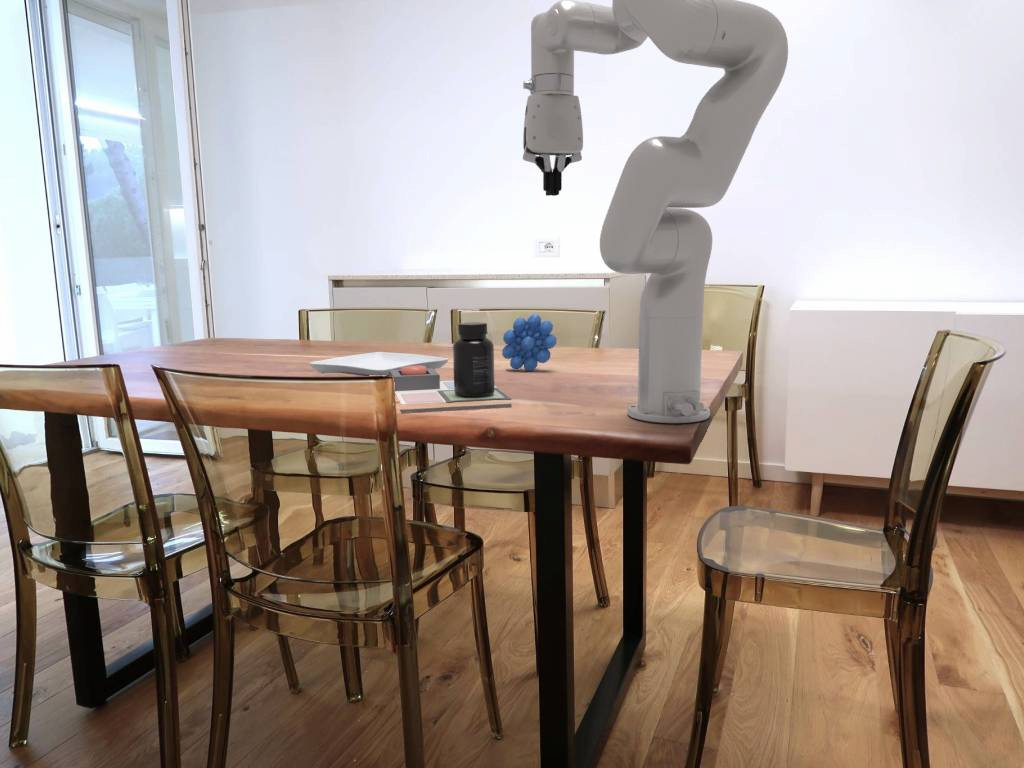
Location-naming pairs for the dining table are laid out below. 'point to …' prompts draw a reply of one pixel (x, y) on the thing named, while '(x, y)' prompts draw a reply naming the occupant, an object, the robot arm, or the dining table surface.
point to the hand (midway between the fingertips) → (552, 195)
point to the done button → (413, 370)
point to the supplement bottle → (473, 361)
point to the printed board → (446, 398)
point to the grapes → (528, 342)
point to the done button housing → (416, 380)
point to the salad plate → (376, 363)
